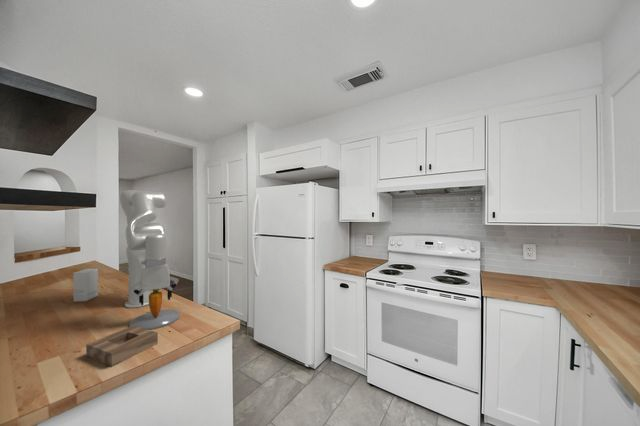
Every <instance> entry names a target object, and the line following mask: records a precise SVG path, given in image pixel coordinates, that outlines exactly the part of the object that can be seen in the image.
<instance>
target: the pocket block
mask: <svg viewBox="0 0 640 426" xmlns="http://www.w3.org/2000/svg"><path fill="white" fill-rule="evenodd" d="M158 332H159V331H158ZM158 332H157V331H155V330H154V331H153V330H147V329H144V328H140V327H137V326H131V327H130V326H128V327H126V328H124V329H121V330H118V331H116V332H113V333H111V334H109V335H105V336H104V337H101V338H99V339H97V340H93V341H91V342H89V343H88V342H87V343H86V347H85V348H86V350H85V353H86V354H85V356H86V357H87V358H89V359H92V360H94V361H96V362H99V363H102V364H104V365H106V366H110V367H111V368H112V367H115V366H116V365H118V364H120V363H122V362H124V361H126V360H128V359H131V358H132V357H134V356H136V355H138V354H140V353H142V352H143V351H146V350H148V349H149V348H152V347H153V346H156V345H158V341H159V339H158V336H159V334H158Z"/></svg>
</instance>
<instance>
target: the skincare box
mask: <svg viewBox="0 0 640 426" xmlns="http://www.w3.org/2000/svg"><path fill="white" fill-rule="evenodd" d="M98 285H99V269H98V268H85V269H81V270H79V271H75V272H73V302H87V301H89V300H92V299H94V298H96V297H98V296H99V286H98Z"/></svg>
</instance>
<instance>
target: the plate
mask: <svg viewBox="0 0 640 426" xmlns="http://www.w3.org/2000/svg"><path fill="white" fill-rule="evenodd" d="M180 314H181V313H180V311H178V310H176V309H160V312H159V314H158V316H157V318H154V317H153V315H152V313H151V311H150V312H147V313H144V314H141V315H138V316H137V317H134V318H133V319H132V320H131V321H130V322H129V327H131V326H137V327H140V328H144V329H147V330H151V331H153V330H156V329H160V328H164V327H167V326H169V325H171V324H173V323H175V322H176V321H177V320H179V318H180V317H181V316H180Z"/></svg>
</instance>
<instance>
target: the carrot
mask: <svg viewBox="0 0 640 426" xmlns="http://www.w3.org/2000/svg"><path fill="white" fill-rule="evenodd" d="M162 302H163V292H162V291H160V289H157V290H152V293H150V295H149V305H148V306H149V311H150V312H151V313H152V315H153V317H154V318H157V316H158V314H159V312H160V310H162Z"/></svg>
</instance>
